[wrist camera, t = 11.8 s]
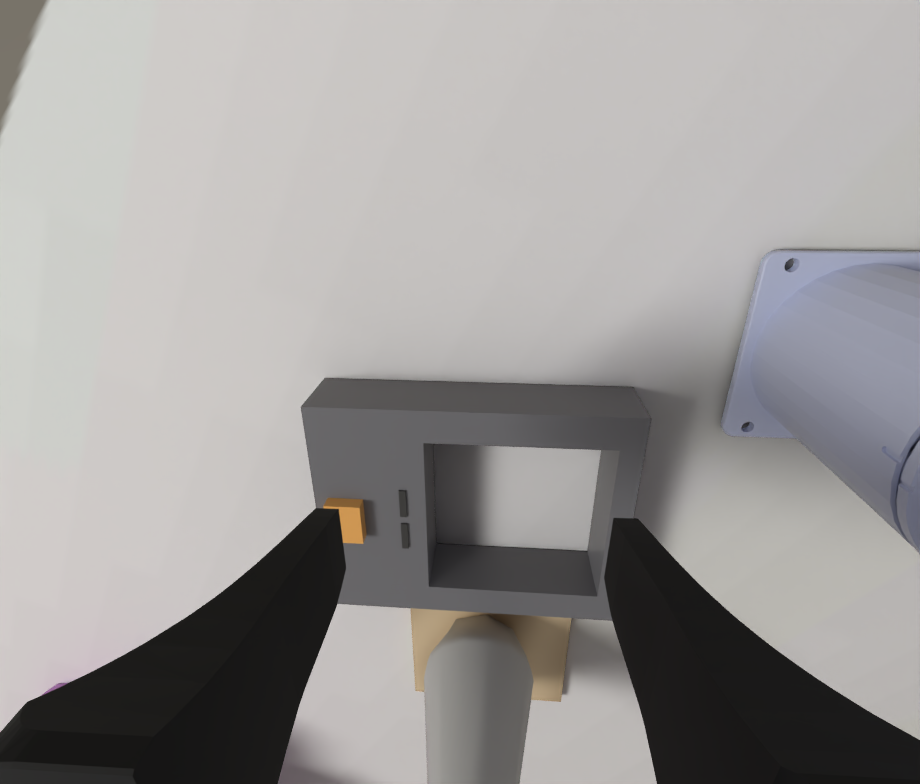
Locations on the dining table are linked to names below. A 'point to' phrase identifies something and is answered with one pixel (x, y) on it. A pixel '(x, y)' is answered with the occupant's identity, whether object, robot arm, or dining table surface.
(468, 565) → the grey flat block
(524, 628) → the oak pad
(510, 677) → the salt shaker
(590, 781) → the dining table surface
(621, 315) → the dining table surface
